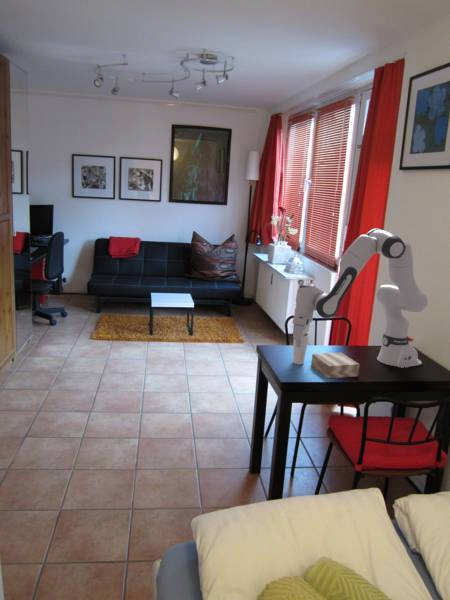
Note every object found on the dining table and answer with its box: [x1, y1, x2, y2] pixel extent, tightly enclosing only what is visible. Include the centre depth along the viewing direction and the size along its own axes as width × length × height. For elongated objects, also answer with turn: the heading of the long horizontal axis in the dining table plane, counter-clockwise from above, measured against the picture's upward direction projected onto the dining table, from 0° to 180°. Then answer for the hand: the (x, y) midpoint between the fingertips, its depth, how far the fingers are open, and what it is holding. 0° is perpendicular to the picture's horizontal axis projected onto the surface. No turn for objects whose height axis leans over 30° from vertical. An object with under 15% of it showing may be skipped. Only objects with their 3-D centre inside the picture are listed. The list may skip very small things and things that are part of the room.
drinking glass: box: [292, 332, 309, 366], centre depth 247 cm, size 7×7×15 cm
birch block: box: [310, 351, 360, 379], centre depth 242 cm, size 16×16×6 cm
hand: (300, 344), depth 247 cm, fingers closed on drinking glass, 7 cm apart
